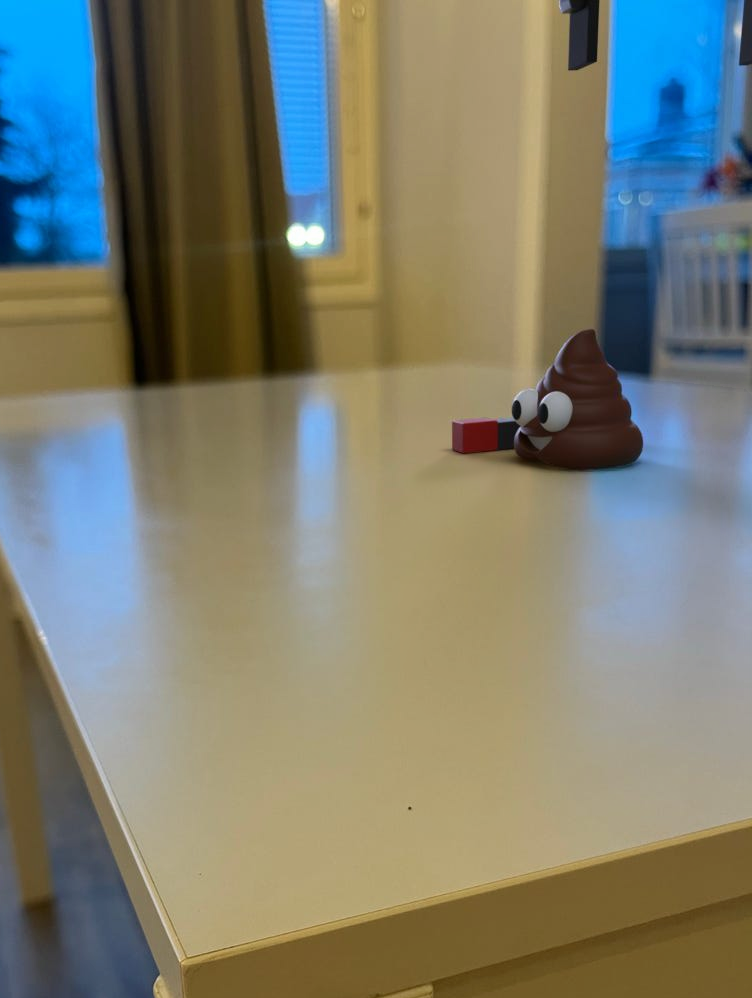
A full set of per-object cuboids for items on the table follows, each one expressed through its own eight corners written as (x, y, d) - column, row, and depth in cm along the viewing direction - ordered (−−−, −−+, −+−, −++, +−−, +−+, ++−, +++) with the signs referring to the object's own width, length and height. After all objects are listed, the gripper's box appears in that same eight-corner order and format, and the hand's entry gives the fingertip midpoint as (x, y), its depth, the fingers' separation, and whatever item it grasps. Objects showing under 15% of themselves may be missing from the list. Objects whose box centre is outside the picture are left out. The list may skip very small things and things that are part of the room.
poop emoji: (669, 462, 70) (678, 324, 67) (570, 477, 67) (575, 334, 64) (577, 446, 79) (582, 324, 76) (486, 459, 76) (487, 332, 73)
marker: (596, 435, 84) (597, 406, 83) (611, 439, 82) (612, 409, 81) (451, 449, 82) (451, 420, 81) (462, 453, 79) (462, 423, 79)
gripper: (822, -274, 69) (788, 70, 76) (487, -286, 65) (484, 80, 72) (908, -339, 62) (862, 47, 69) (539, -358, 58) (530, 55, 65)
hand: (670, 64), depth 70 cm, fingers open, 13 cm apart
